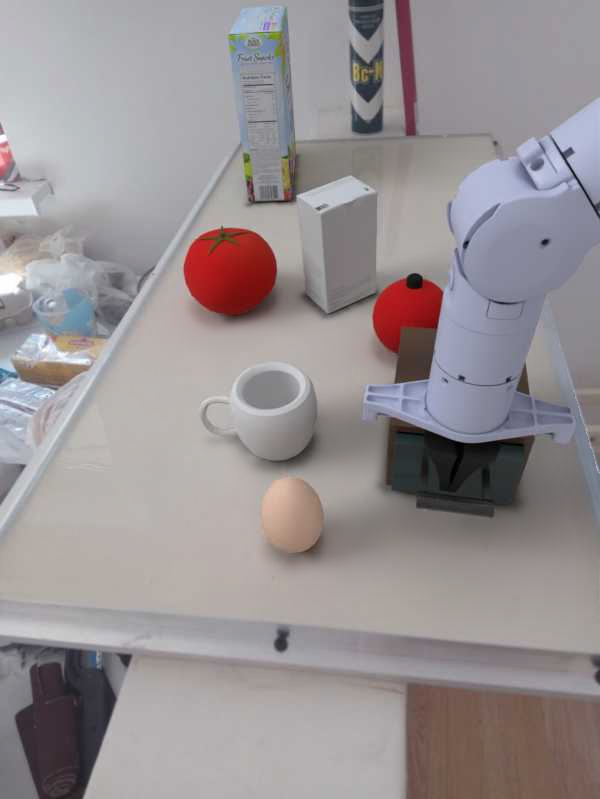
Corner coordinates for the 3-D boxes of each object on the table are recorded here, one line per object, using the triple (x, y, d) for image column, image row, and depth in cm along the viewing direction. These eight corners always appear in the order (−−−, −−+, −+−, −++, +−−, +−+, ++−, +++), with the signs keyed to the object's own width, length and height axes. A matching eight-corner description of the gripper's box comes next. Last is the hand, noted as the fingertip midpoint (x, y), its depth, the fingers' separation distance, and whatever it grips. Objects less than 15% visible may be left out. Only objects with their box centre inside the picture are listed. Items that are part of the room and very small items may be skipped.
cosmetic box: (352, 276, 78) (351, 172, 67) (378, 295, 74) (381, 188, 64) (302, 296, 75) (293, 191, 65) (326, 317, 71) (320, 209, 61)
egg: (337, 548, 47) (334, 493, 42) (284, 579, 46) (274, 525, 40) (306, 505, 51) (299, 449, 45) (256, 533, 49) (242, 477, 43)
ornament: (457, 335, 67) (468, 263, 60) (432, 381, 61) (441, 308, 54) (388, 318, 70) (392, 248, 63) (359, 359, 65) (359, 288, 58)
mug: (321, 411, 59) (317, 356, 54) (317, 473, 53) (313, 418, 48) (213, 411, 61) (199, 357, 55) (198, 471, 55) (180, 418, 49)
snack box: (296, 202, 96) (281, 29, 78) (247, 205, 97) (222, 35, 79) (299, 154, 111) (288, 1, 93) (257, 157, 112) (238, 6, 94)
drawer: (512, 548, 45) (530, 501, 40) (386, 531, 47) (389, 484, 42) (502, 405, 57) (515, 356, 52) (401, 396, 59) (405, 348, 54)
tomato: (181, 298, 77) (163, 229, 70) (258, 270, 81) (248, 202, 73) (212, 339, 70) (194, 267, 63) (294, 307, 74) (287, 235, 66)
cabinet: (513, 501, 49) (535, 439, 43) (385, 485, 52) (389, 424, 46) (505, 397, 59) (522, 334, 53) (397, 387, 61) (401, 326, 55)
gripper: (586, 329, 37) (534, 456, 47) (373, 311, 40) (365, 435, 49) (606, 401, 32) (543, 526, 42) (362, 376, 35) (355, 499, 44)
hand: (447, 482), depth 45 cm, fingers closed, pressing on drawer
